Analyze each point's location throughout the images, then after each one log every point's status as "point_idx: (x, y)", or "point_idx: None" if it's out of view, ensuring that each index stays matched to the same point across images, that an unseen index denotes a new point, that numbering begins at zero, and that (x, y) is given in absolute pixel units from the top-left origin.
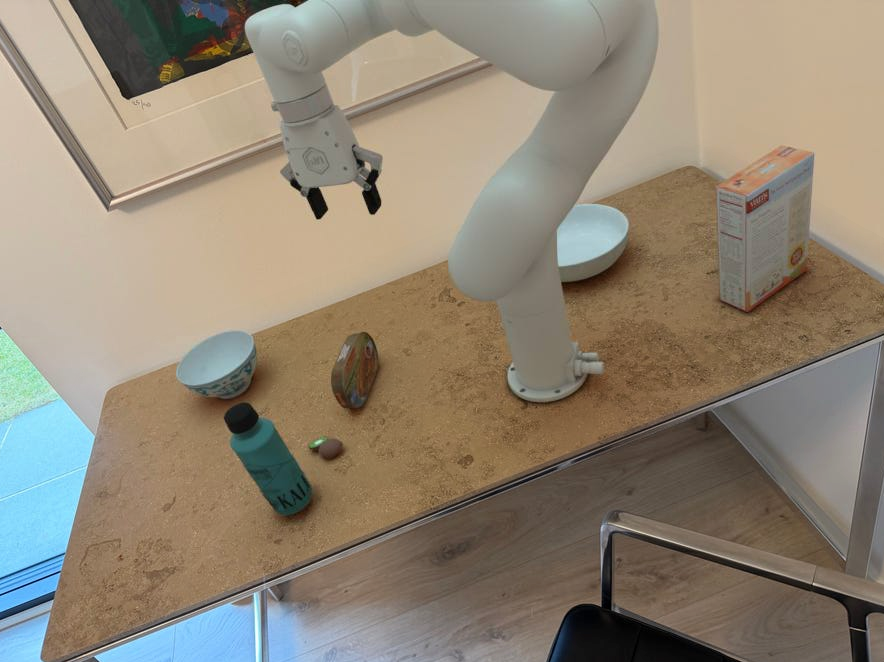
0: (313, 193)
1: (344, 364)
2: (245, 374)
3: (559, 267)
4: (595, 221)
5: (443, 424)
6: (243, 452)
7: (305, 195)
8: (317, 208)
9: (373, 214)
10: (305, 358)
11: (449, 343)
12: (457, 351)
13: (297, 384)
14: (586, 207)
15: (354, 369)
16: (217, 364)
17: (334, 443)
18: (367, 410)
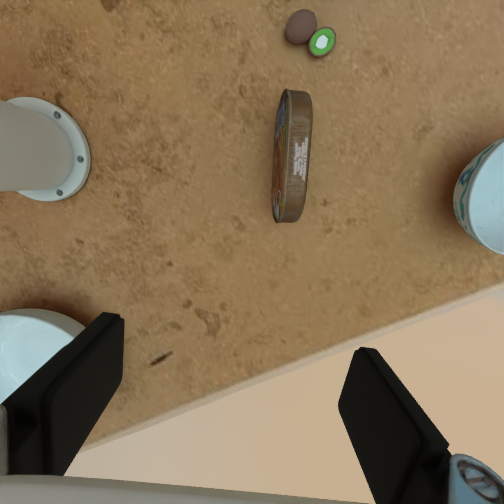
0: (411, 479)
1: (292, 125)
2: (467, 168)
3: (22, 315)
4: None
5: (157, 75)
6: None
7: (464, 467)
8: (374, 386)
9: (107, 312)
10: (381, 233)
11: (185, 232)
12: (171, 215)
13: (382, 182)
14: None
15: (285, 147)
16: None
17: (292, 21)
18: (268, 116)
